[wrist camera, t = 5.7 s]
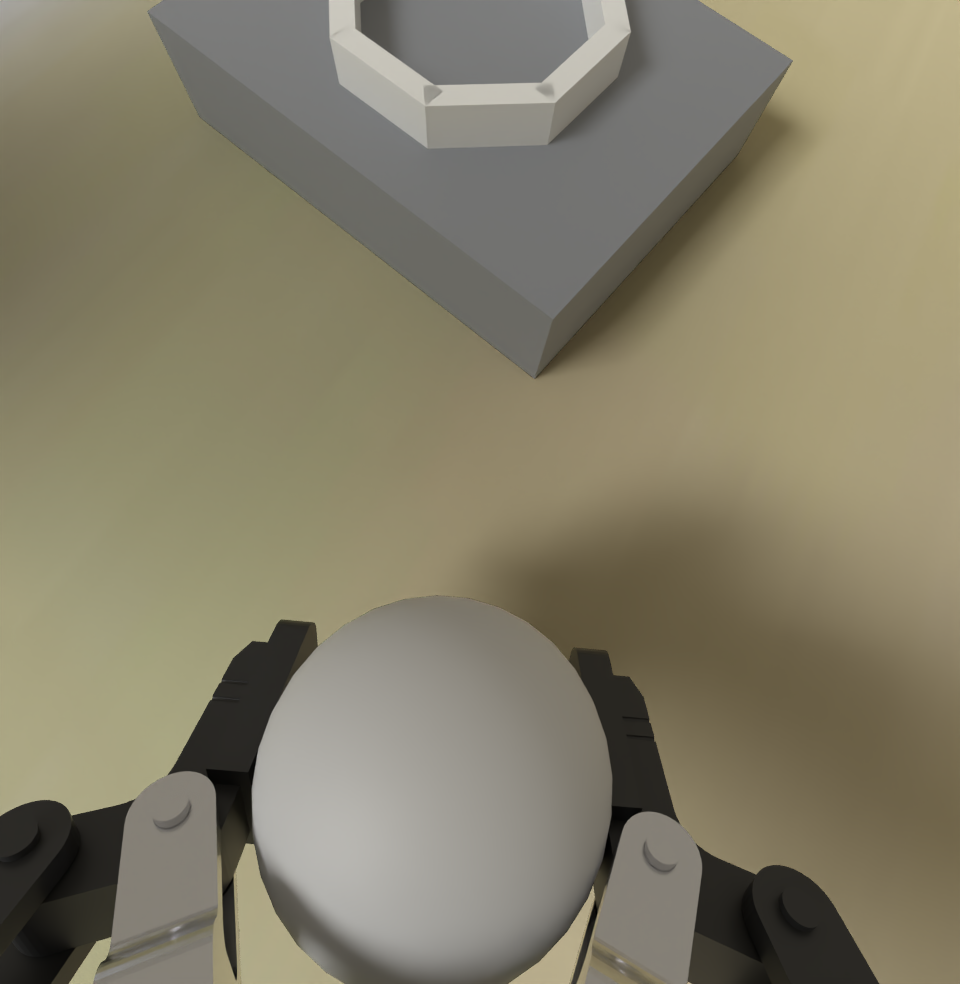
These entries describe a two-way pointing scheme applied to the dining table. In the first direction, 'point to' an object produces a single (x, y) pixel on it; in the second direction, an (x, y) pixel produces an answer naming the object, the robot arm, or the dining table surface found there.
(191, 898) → the robot arm
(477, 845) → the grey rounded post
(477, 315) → the grey ring holder base
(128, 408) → the dining table surface
